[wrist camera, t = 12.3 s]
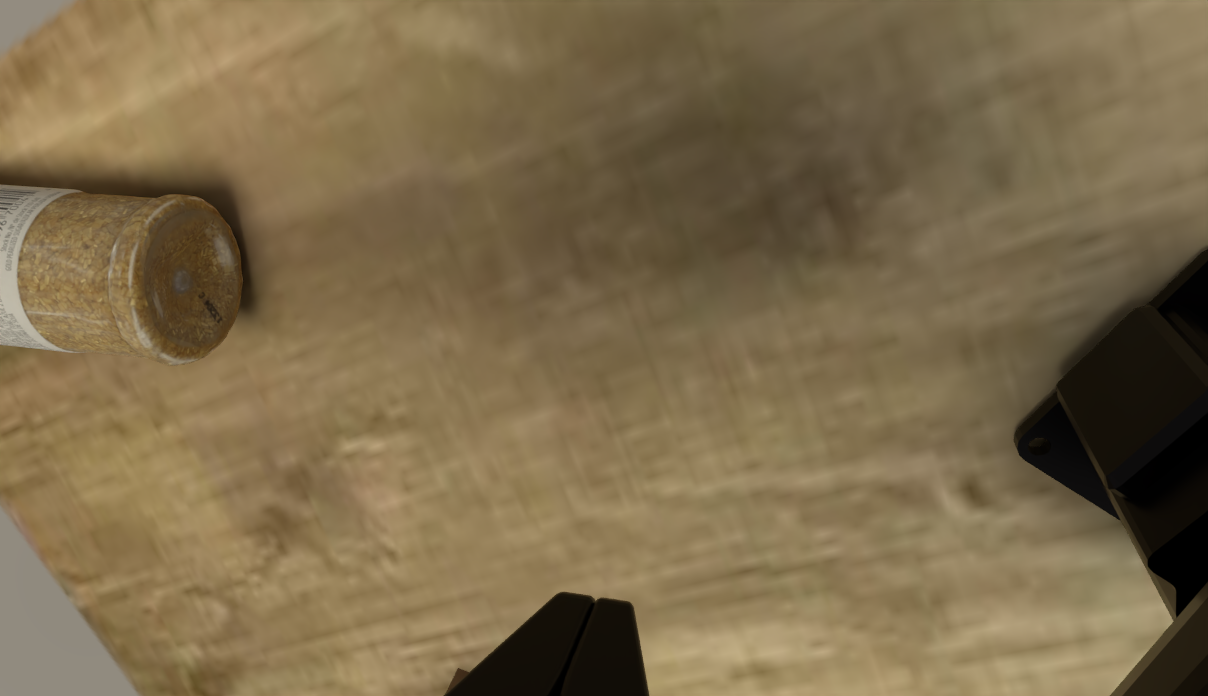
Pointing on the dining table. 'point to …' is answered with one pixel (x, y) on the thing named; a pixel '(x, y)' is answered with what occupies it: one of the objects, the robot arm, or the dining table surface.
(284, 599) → the dining table surface
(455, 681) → the walnut block
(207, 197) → the dining table surface
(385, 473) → the dining table surface
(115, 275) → the sprinkles bottle
